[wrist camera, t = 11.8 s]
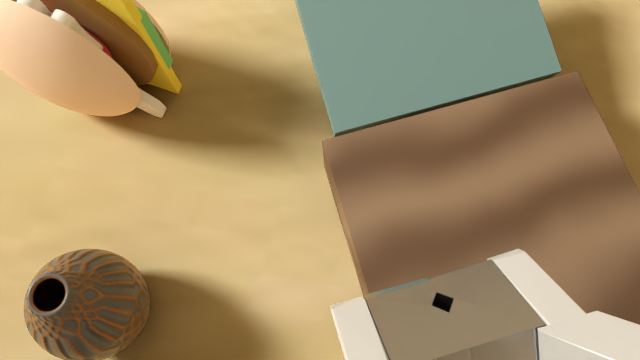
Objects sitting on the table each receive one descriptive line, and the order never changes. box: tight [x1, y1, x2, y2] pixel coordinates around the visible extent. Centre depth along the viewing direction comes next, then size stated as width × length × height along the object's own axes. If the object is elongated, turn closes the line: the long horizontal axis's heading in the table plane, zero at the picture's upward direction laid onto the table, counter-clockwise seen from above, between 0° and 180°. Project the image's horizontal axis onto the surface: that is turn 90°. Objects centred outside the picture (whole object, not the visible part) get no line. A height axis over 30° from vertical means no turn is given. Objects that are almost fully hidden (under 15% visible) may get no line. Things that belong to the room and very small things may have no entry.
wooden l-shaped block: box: [322, 71, 640, 325], centre depth 31 cm, size 18×18×13 cm
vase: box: [24, 249, 150, 360], centre depth 33 cm, size 7×7×9 cm
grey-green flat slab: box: [295, 0, 562, 137], centre depth 38 cm, size 3×16×11 cm
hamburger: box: [0, 0, 182, 118], centre depth 38 cm, size 12×8×12 cm
